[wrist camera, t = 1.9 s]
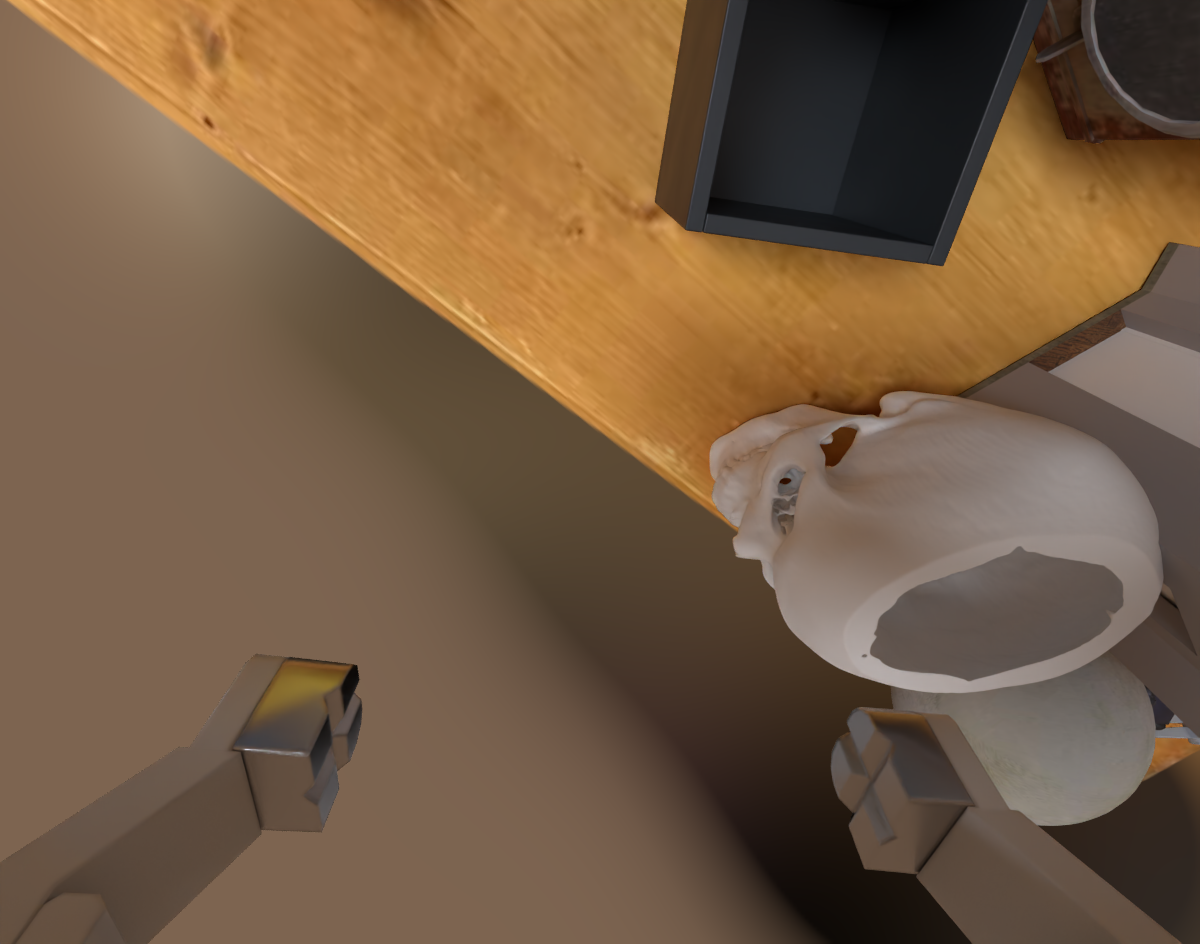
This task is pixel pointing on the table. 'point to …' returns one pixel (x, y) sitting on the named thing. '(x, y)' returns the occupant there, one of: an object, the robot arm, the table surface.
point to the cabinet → (1138, 445)
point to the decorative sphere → (1056, 738)
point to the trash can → (839, 119)
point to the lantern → (1123, 67)
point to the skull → (942, 539)
